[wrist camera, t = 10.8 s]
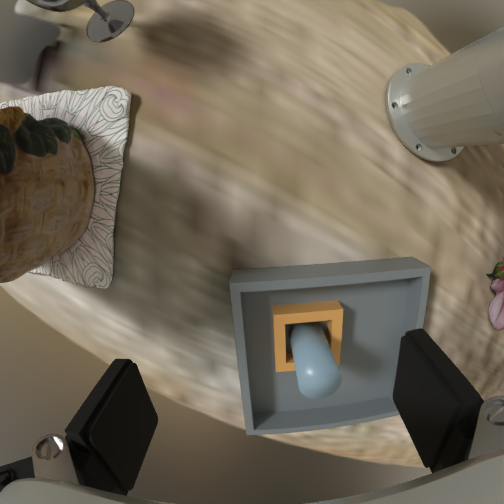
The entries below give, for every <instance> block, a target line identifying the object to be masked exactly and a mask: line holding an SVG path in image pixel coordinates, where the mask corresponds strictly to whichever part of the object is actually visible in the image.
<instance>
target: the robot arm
mask: <svg viewBox="0 0 504 504" xmlns="http://www.w3.org/2000/svg"><path fill="white" fill-rule="evenodd" d="M385 103H386V111H387V115H388V119H389V121H390V124H391V126H392V129H393V130H394V132H395V134H396V135H397V137H398V138H399V140H400V141H401V142H402V143H403V145H404V146H405V147H406V148H407V149H409V150H410V151H411V152H412V153H414V154H415V155H417V156H418V157H420V158H422V159H425V160H428V161H433V162H442V161H448V160H450V159H452V158H455V157H456V156H457V155H458V154H459V153H460V152H461V151H462V150H463V148H464V147H465V146H477V145H492V144H504V27H503V28H501V29H499V30H497V31H495V32H494V33H491V34H489V35H487V36H486V37H484V38H482V39H480V40H478V41H476V42H474V43H472V44H470V45H468V46H466V47H464V48H463V49H460V50H459V51H457V52H455V53H453V54H451V55H449V56H448V57H446V58H444V59H442V60H440V61H439V62H437V63H435V64H433V65H432V66H430V65H426V64H420V63H414V64H409V65H406V66H404V67H402V68H401V69H399V70H398V71H397V72H396V73H395V74H394V75H393V76H392V77H391V79H390V81H389V82H388V86H387V89H386V96H385ZM392 106H393V107H392ZM416 147H417V149H416ZM393 401H394V404H395V406H396V408H397V410H398V412H399V414H400V416H401V418H402V420H403V422H404V424H405V426H406V428H407V430H408V432H409V434H410V436H411V439H412V441H413V443H414V445H415V447H416V449H417V451H418V454H419V456H420V458H421V460H422V462H423V464H424V466H425V467H426V468H428V467H429V468H430V470H431V472H432V474H429V475H426V476H423V477H420V478H417V479H415V480H411V481H408V482H405V483H401V484H398V485H395V486H392V487H388V488H384V489H381V490H377V491H373V492H368V493H364V494H360V495H355V496H351V497H345V498H340V499H334V500H329V501H322V502H315V503H307V504H504V397H502V396H495V397H491V398H489V399H487V400H486V401H485V402H484V400H483V399H482V398H481V396H480V395H479V393H478V392H477V391H476V390H475V388H474V387H473V386H472V385H471V383H470V382H469V381H468V380H467V379H466V377H465V376H464V375H463V374H462V373H461V372H460V370H459V369H458V368H457V367H456V366H455V365H454V363H453V362H452V361H451V360H450V359H449V358H448V356H447V355H446V354H445V353H444V352H443V351H442V350H441V348H440V347H439V346H438V345H437V344H436V343H435V342H434V341H433V340H432V338H431V337H430V336H429V335H428V334H427V333H426V332H425V331H424V330H423V329H422V328H419V329H414V330H410V331H407V332H406V333H405V336H402V337H401V341H400V349H399V357H398V364H397V371H396V377H395V383H394V389H393ZM157 423H158V416H157V413H156V411H155V409H154V407H153V404H152V402H151V400H150V397H149V395H148V392H147V390H146V387H145V385H144V382H143V380H142V377H141V375H140V372H139V369H138V367H137V365H136V364H135V363H133V362H132V361H131V360H130V359H115V360H114V361H113V362H112V364H111V365H110V366H109V368H108V369H107V370H106V372H105V373H104V375H103V376H102V377H101V379H100V380H99V382H98V383H97V384H96V386H95V387H94V389H93V390H92V391H91V393H90V394H89V396H88V397H87V399H86V400H85V402H84V403H83V404H82V406H81V407H80V409H79V410H78V412H77V413H76V414H75V416H74V417H73V419H72V420H71V422H70V423H69V425H68V426H67V428H66V429H65V432H66V434H67V435H66V437H65V438H64V437H63V436H61V435H58V434H48V435H45V436H43V437H41V438H40V439H38V440H37V441H36V442H35V443H34V445H33V448H32V457H28V458H26V459H23V460H19V461H16V462H13V463H10V464H7V465H4V466H1V467H0V504H173V503H165V502H158V501H151V500H145V499H140V498H135V497H129V496H127V493H128V491H129V490H132V489H133V487H134V484H135V481H136V479H137V476H138V473H139V471H140V468H141V465H142V463H143V460H144V457H145V455H146V452H147V450H148V447H149V444H150V442H151V439H152V437H153V434H154V431H155V429H156V426H157Z"/></svg>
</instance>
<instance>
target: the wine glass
mask: <svg viewBox="0 0 504 504" xmlns="http://www.w3.org/2000/svg"><path fill="white" fill-rule="evenodd" d="M26 1H28V2H29V3H31V4H33V5H35V6H37V7H40V8H42V9H45V10H48V11H53V12H66V11H70V10H73V9H76V8H79V7H88V8H90V9H92V10H94V11H95V13H94V14H93V15H92V17H91V18H90V20H89V22H88V24H87V29H86V31H87V36H88V38H89V39H90V40H92V41H94V42H105V41H108V40H110V39H113V38H114V37H116V36H118V35H119V34H120V33H122V32H123V31H124V30H125V29H126V28H127V26H128V25H129V24H130V22H131V20H132V18H133V14H134V8H133V6H132V4H131V3H130V2H128V1H126V0H115V1H111V2H109V3H107V4H105V5H103V6H102V7H100V6H99V4H98V3H97V1H96V0H26Z"/></svg>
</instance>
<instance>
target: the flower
mask: <svg viewBox="0 0 504 504" xmlns="http://www.w3.org/2000/svg"><path fill="white" fill-rule="evenodd" d="M502 259H503V262H499V263H497V265H496V266H495V268H494V271H493V273H492V274H486V275H487V276H489V277H495V279H494V280H493V282H492V284H491V287H490V288H491V289H492V290H494V291H496V294H497V295H496V297H495V298H494V299H493V300H492V301H491V304H490V307H489V309H488V310H489V318H490V322H491V324H492V326H493V327H494V328H495V329H497V330H502V329H504V256H502Z"/></svg>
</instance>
